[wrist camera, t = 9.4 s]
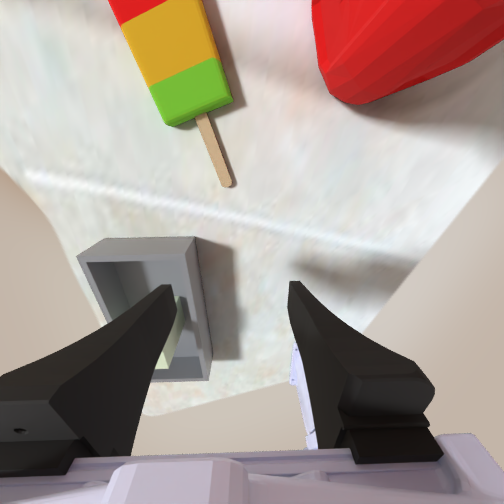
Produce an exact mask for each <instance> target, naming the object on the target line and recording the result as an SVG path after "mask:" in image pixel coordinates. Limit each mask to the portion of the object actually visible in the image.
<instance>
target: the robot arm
mask: <svg viewBox="0 0 504 504" xmlns="http://www.w3.org/2000/svg"><path fill="white" fill-rule="evenodd" d="M287 308H288V313H289V319H290V324H291V327H292V330H293V333H294V337H295V340H296V343H295V344H294V345H293V353H292V362H291V371H290V379H289V383H290V385H296V386H297V392H298V396H299V401H300V406H301V411H302V415H303V420H304V425H305V429H306V432H307V434H308V435H307V436H306V442H307V447H306V448H304V449H303V450H288V451H262V452H261V451H259V452H235V453H234V452H233V453H205V454H177V455H150V456H149V455H148V456H131V452H132V448H133V443H134V439H135V435H136V431H137V427H138V424H139V420H140V416H141V413H142V409H143V405H144V402H145V399H146V395H147V392H148V388H149V385H150V382H151V379H152V376H153V373H154V370H155V367H156V364H157V362H158V359H159V357H160V355H161V353H162V350H163V348H164V346H165V343H166V341H167V339H168V336H169V334H170V332H171V329H172V327H173V324H174V321H175V317H176V314H177V306H176V302H175V298H174V294H173V289H172V285H171V284H161V285H160V286H158V287H157V288H156V289H154V290H153V291H152V292H150V293H149V294H148V295H147V296H145V297H144V298H143V299H142V300H140V301H139V302H138V303H136V304H135V305H134V306H132V307H131V308H130V309H128V310H127V311H125V312H124V313H123V314H121V315H120V316H118V317H117V318H116V319H114V320H113V321H111V322H110V323H108V324H106V325H105V326H103V327H102V328H100V329H98V330H97V331H95V332H93V333H91V334H90V335H88V336H86V337H84V338H82V339H81V340H79V341H77V342H75V343H73V344H71V345H69V346H67V347H65V348H63V349H61V350H59V351H57V352H55V353H53V354H50V355H48V356H46V357H44V358H42V359H39V360H37V361H35V362H32V363H30V364H27V365H25V366H23V367H20V368H18V369H15V370H13V371H11V372H8V373H6V374H3V375H2V376H1V377H0V504H504V471H503V470H502V469H501V468H500V466H499V465H498V464H497V463H496V461H495V460H494V459H493V458H492V456H491V455H490V454H489V453H488V451H487V450H486V449H485V448H484V446H483V445H482V444H481V442H480V441H479V440H478V439H477V437H476V436H475V435H473V434H471V433H462V434H442V435H438V436H436V437H433V435H432V434H431V433H430V431H429V429H428V428H427V427H429V426H430V424H429V421H428V420H427V418H426V417H425V415H424V414H423V412H424V411H425V409H426V408H427V406H428V405H429V404H430V402H431V401H432V399H433V397H434V394H435V388H434V386H433V385H432V383H431V382H430V380H429V379H428V378H427V377H426V375H425V374H424V373H423V371H422V370H421V369H420V368H419V367H418V365H417V364H416V363H415V362H414V361H412V360H410V359H408V358H406V357H404V356H401V355H399V354H397V353H395V352H393V351H391V350H389V349H387V348H385V347H383V346H381V345H380V344H378V343H376V342H374V341H372V340H371V339H369V338H367V337H365V336H364V335H362V334H361V333H359V332H358V331H356V330H355V329H353V328H352V327H350V326H349V325H347V324H346V323H345V322H343V321H342V320H340V319H339V318H338V317H337V316H335V315H334V314H333V313H332V312H330V311H329V310H328V309H327V308H326V307H325V306H324V305H323V304H322V303H320V302H319V301H318V300H317V299H316V298H315V297H314V296H313V295H312V294H311V293H310V291H309V290H308V289H307V288H306V287H305V286H304V285H303V284H302V283H301V282H300V281H290V282H289V294H288V306H287Z"/></svg>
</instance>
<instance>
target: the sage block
mask: <svg viewBox="0 0 504 504" xmlns="http://www.w3.org/2000/svg"><path fill="white" fill-rule="evenodd" d="M174 298H175V302H176V306H177V314H176V317H175V321H174V324H173V327H172V329H171V332H170V334H169V336H168V339H167V341H166V343H165V346H164V348H163V350H162V353H161V355H160V357H159V359H158V362H157V364H156V367H155V369H169V366H170V363H171V361H172V358H173V355H174V352H175V349H176V347H177V344H178V341H179V338H180V335H181V332H182V330H183V327H184V324H185V318H184V314H183V310H182V305H181V301H180V297H179V296H174Z"/></svg>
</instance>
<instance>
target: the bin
mask: <svg viewBox="0 0 504 504" xmlns="http://www.w3.org/2000/svg"><path fill="white" fill-rule="evenodd" d="M76 257H77V259H78V261H79V264H80V266H81V268H82V270H83V272H84V274H85V276H86V278H87V281H88V283H89V285H90V287H91V289H92V291H93V293H94V295H95V298H96V300H97V302H98V304H99V306H100V308H101V310H102V312H103V315H104V317H105V319H106V321H107V323H110V322H111V321H113V320H114V319H116V318H117V317H118V316H120V315H121V314H123V313H124V312H125V311H127V310H128V309H130V308H131V307H132V306H134V305H135V304H136V303H138V302H139V301H140V300H142V299H143V298H144V297H145V296H147V295H148V294H149V293H150V292H152V291H153V290H154V289H156V288H157V287H158V286H160V285H161V284H171V285H172V289H173V294H174V296H179V297H180V301H181V305H182V310H183V314H184V318H185V324H184V327H183V330H182V332H181V335H180V338H179V341H178V344H177V347H176V349H175V352H174V355H173V358H172V361H171V363H170V366H169V369H155V370H154V373H153V376H152V379H151V382H182V381H209V375H210V369H211V363H212V357H213V350H212V343H211V337H210V331H209V324H208V318H207V311H206V305H205V299H204V292H203V286H202V279H201V273H200V266H199V260H198V254H197V247H196V241H195V236H194V237H150V238H105V239H103V240H101V241H99V242H98V243H96V244H95V245H93V246H92V247H90V248H88V249H87V250H85V251H84V252H82V253H80V254H79V255H77V256H76Z"/></svg>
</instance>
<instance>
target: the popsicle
mask: <svg viewBox="0 0 504 504" xmlns="http://www.w3.org/2000/svg"><path fill="white" fill-rule="evenodd" d="M108 1H109V4H110V6H111V8H112V10H113V12H114V14H115V17H116V19H117V21H118V23H119V25H120V27H121V30H122V32H123V34H124V36H125V38H126V40H127V43H128V45H129V47H130V49H131V51H132V53H133V56H134V58H135V60H136V62H137V64H138V67H139V69H140V71H141V73H142V75H143V77H144V80H145V82H146V84H147V86H148V88H149V90H150V93H151V95H152V97H153V99H154V101H155V103H156V106H157V108H158V110H159V112H160V114H161V116H162V119H163V121H164V122H165V124H167V125H168V126H172V127H174V126H177V125H179V124H181V123H184V122H186V121H189V120H191V119H193V118H195V120H196V122H197V125H198V127H199V130H200V132H201V135H202V137H203V140H204V142H205V145H206V147H207V150H208V152H209V155H210V157H211V160H212V162H213V165H214V167H215V170H216V172H217V175H218V177H219V180H220V182H221V185H222V186H223V187H229V186H230V185H231V184H232V180H231V177H230V175H229V172H228V169H227V166H226V164H225V161H224V158H223V156H222V153H221V150H220V148H219V145H218V142H217V140H216V137H215V134H214V131H213V129H212V126H211V123H210V121H209V118H208V115H207V112H210V111H212V110H214V109H217V108H219V107H222V106H224V105H226V104H229V103H231V102H233V98H232V95H231V92H230V89H229V85H228V82H227V79H226V76H225V73H224V69H223V66H222V63H221V60H220V57H219V53H218V50H217V47H216V44H215V41H214V38H213V34H212V31H211V28H210V25H209V22H208V18H207V15H206V12H205V9H204V6H203V2H202V0H108ZM115 4H116V5H115ZM209 58H210V59H209Z"/></svg>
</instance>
